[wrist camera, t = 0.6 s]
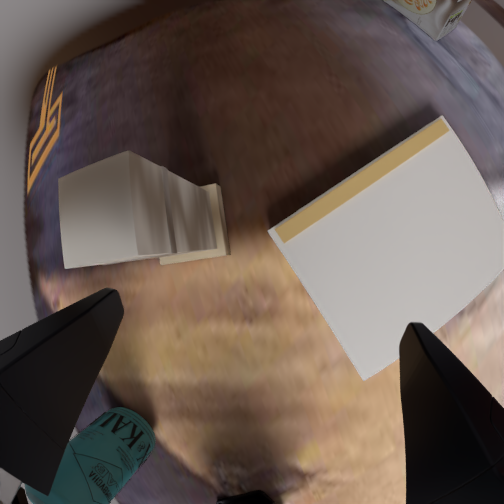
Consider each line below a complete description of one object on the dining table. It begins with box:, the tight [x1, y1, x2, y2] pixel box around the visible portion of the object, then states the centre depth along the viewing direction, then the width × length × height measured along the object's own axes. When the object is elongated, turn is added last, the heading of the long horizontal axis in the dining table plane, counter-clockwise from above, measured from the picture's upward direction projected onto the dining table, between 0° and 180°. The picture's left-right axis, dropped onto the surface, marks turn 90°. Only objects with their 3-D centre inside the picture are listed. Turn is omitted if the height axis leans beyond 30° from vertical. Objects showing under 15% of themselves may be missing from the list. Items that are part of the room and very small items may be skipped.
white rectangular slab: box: [268, 116, 504, 381], centre depth 20 cm, size 18×14×2 cm
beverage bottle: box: [25, 407, 155, 504], centre depth 16 cm, size 6×7×20 cm
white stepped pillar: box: [59, 150, 231, 269], centre depth 18 cm, size 6×6×13 cm
